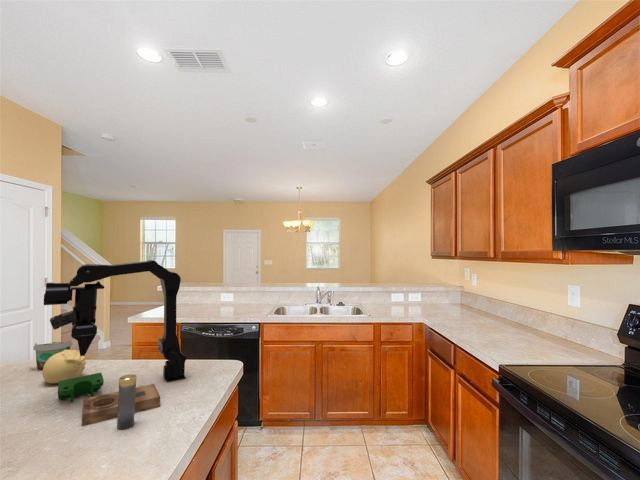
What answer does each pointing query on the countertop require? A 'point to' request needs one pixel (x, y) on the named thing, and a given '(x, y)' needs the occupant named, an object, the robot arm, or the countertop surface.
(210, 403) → the countertop surface
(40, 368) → the food container
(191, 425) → the countertop surface
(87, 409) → the socket plate
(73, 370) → the sculpture
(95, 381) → the clamp
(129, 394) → the grey and gold cylinder
